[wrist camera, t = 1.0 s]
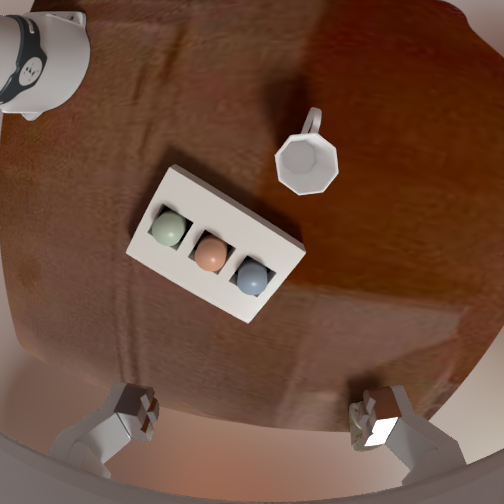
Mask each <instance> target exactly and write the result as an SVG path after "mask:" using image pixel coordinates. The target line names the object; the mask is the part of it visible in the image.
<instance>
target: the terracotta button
mask: <svg viewBox="0 0 504 504" xmlns="http://www.w3.org/2000/svg"><path fill="white" fill-rule="evenodd" d="M226 255H227V244H226V242H225V241H223V240H222V239H220V238H218V237H217V236H215V235H208V236H205V237H204V238H203V239H202V240H201V241H200V243H199V245H198V247H197V250H196V252H195V261H196V263H197V265H198V266H199V267H200V268H201V269H203V270H205V271H210V272H212V271H217V270H219V269H220V268H221V267H222V266H223V265H224V263H225V259H226Z"/></svg>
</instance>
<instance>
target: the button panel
mask: <svg viewBox="0 0 504 504" xmlns="http://www.w3.org/2000/svg"><path fill="white" fill-rule="evenodd" d="M165 205H166V206H168V207H169V208H171V209H172V210H174V211H176V212H177V213H179V214H181V215H182V216H184V217H186V218H187V219H189V220H191V221H192V222H194V223H193V225H192V226H191V228H190V230H189V231H188V233H187V235H186V236H185V238H184V240H183V241H182V242H180V241H179V242H178V243H176V244H175V245H173V246H164V245H161V244H159V243H158V242H157V241H156V240H155V239H154V237H153V234H152V226H153V224H154V222H155V221H156V220H157V219H158V217H159V215H160V213H161V211H162V209H163V207H164V206H165ZM204 230H207V231H209V232H210V233H212V234H214V235H215V236H217V237H218V238H220V239H222V240H223V241H225V242H227V243H228V244H230V245H232V246H233V247H232V249H231V250H230V252H229V253H228V255H227V256H226V259H225V263H224V265H223V266H222V267H221V268H220V269H219V270H217V271H212V272H210V271H205V270H203V269H201V268H200V267H199V266H198V265H197V263H196V261H195V252H196V251H195V250H194V249H193V248H194V246H195V245H196V243H197V241H198V240H199V238H200V236H201V235H202V233H203V232H204ZM126 253H127V254H128V255H130V256H131V257H133V258H135V259H136V260H138V261H139V262H141V263H143V264H144V265H146V266H148V267H149V268H151V269H153V270H154V271H156V272H158V273H159V274H161V275H163V276H164V277H166V278H168V279H169V280H171V281H173V282H175V283H176V284H178V285H180V286H181V287H183V288H185V289H187V290H188V291H190V292H192V293H194V294H195V295H197V296H199V297H201V298H202V299H204V300H206V301H208V302H210V303H211V304H213V305H215V306H217V307H219V308H220V309H222V310H224V311H226V312H228V313H230V314H232V315H233V316H235V317H237V318H239V319H241V320H243V321H245V322H247V323H249V322H250V321H251V320H252V319H253V317H254V316H255V315H256V314H257V313H258V311H259V310H260V309H261V308H262V307H263V305H264V304H265V303H266V302H267V301H268V299H269V298H270V297H271V296H272V295H273V293H274V292H275V291H276V290H277V288H278V287H279V286H280V285H281V284H282V282H283V281H284V280H285V279H286V277H287V276H288V275H289V274H290V272H291V271H292V270H293V269H294V267H295V266H296V265H297V264H298V262H299V261H300V260H301V259H302V257H303V256H304V255H305V254H306V251H305V248H304V245H303V244H302V243H301V242H299V241H298V240H296V239H295V238H293V237H292V236H290V235H288V234H287V233H285V232H284V231H282V230H281V229H279V228H278V227H276V226H275V225H273V224H271V223H270V222H268V221H267V220H265V219H264V218H262V217H261V216H259V215H257V214H256V213H254V212H253V211H251V210H250V209H248V208H246V207H245V206H243V205H242V204H240V203H238V202H237V201H235V200H234V199H232V198H231V197H229V196H227V195H226V194H224V193H222V192H221V191H219V190H218V189H216V188H214V187H213V186H211V185H210V184H208V183H206V182H205V181H203V180H201V179H200V178H198V177H196V176H195V175H193V174H192V173H190V172H188V171H187V170H185V169H183V168H182V167H180V166H178V165H177V164H175V165H173V166H171V167H169V169H168V171H167V173H166V174H165V176H164V178H163V180H162V182H161V183H160V185H159V187H158V189H157V191H156V193H155V195H154V196H153V198H152V200H151V202H150V204H149V206H148V208H147V210H146V212H145V214H144V216H143V218H142V220H141V222H140V224H139V226H138V228H137V230H136V232H135V234H134V236H133V238H132V241H131V243H130V245H129V247H128V249H127V251H126ZM247 255H248V256H250V257H251V258H253V259H255V260H256V261H258V262H260V263H261V264H263V265H265V266H266V267H268V268H270V269H271V270H270V271H269V273H268V274H267V287H266V289H265V290H264V291H263V292H262V293H260V294H258V295H247V294H245V293H243V292H242V291H241V290H240V289H239V288H238V285H237V279H238V275H236V274H234V273H235V271H236V270H237V268H238V267H239V266H240V264H241V263H242V262H243V260H244V259H245V257H246V256H247Z"/></svg>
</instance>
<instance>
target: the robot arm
mask: <svg viewBox="0 0 504 504" xmlns="http://www.w3.org/2000/svg"><path fill="white" fill-rule="evenodd" d="M73 17H74V18H73ZM72 18H73V20H72ZM85 26H86V15H85V14H84V13H82V12H62V11H57V12H29V13H25V14H24V15H23V16H20V15H6V16H2V15H0V108H1V109H2V112H4V113H21V114H22V115H23V116H24V117H25V119H27V120H31V121H32V120H35V119H36V118H37V117H38V116H40V115H41V114H42V113H43V112H44V111H46V110H50V109H53V108H56V107H58V106H59V105H61V104H63V103H64V102H65V101H66V100H68V99H69V98H70V97H71V96H72V95H73V93H74V92H75V91H76V89H77V88H78V87H79V85H80V83H81V81H82V80H83V78H84V75H85V73H86V70H87V67H88V63H89V58H90V44H89V40H88V37H87V34H86V31H85ZM154 393H155V392H154V390H153V388H152V387H147V386H141V385H135V384H130V383H124V382H119V381H117V382H116V383H115V384H114V386H113V388H112V390H111V392H110V394H109V396H108V398H107V400H106V402H105V404H104V406H103V408H102V410H101V409H98V410H96V411H95V412H93V413H91V414H90V415H88V416H86V417H85V418H83V419H82V420H80V421H78V422H77V423H75V424H73V425H72V426H70V427H69V428H67V429H65V430H63V431H62V432H60V433H59V434H58V435H57V437H56V439H55V441H54V443H53V445H52V447H51V449H50V450H49V452H48V454H47V455H45V454H43V453H41V452H39V451H36V450H34V449H32V448H30V447H28V446H26V445H24V444H22V443H20V442H18V441H17V440H15V439H13V438H11V437H9V436H7V435H6V434H4V433H2V432H1V431H0V504H504V449H502V450H500V451H497V452H496V453H493V454H491V455H489V456H487V457H485V458H482V459H480V460H478V461H475V462H473V463H471V464H468V465H467V464H466V462H465V459H464V457H463V454H462V452H461V449H460V447H459V444H458V442H457V441H456V440H454V439H453V438H452V437H450V436H448V435H447V434H446V433H444V432H443V431H441V430H440V429H438V428H437V427H436V426H434V425H433V424H431V423H430V422H429V421H427V420H426V419H424V418H423V417H422V416H420V415H419V414H414V411H413V409H412V406H411V404H410V402H409V399H408V397H407V394H406V392H405V390H404V387H403V386H402V385H396V386H387V387H380V388H373V389H366V390H365V391H364V394H363V398H364V400H363V401H362V402H361V403H360V405H359V410H358V417H359V423H360V425H361V426H363V427H364V429H363V431H362V436H363V440H364V444H365V446H369V445H376V444H383V443H385V445H386V446H387V447H388V448H389V449H390V450H391V451H392V452H393V453H394V454H395V455H396V456H397V457H398V458H399V459H400V460H401V461H402V462H403V463H404V464H405V465H406V466H407V467H408V468H409V469H410V470H411V471H410V472H409V473H408V474H407V475H406V477H405V478H404V479H403V480H402V485H403V486H400V487H396V488H392V489H387V490H382V491H378V492H372V493H367V494H361V495H355V496H349V497H341V498H334V499H324V500H313V501H296V502H243V501H226V500H215V499H206V498H198V497H190V496H183V495H177V494H171V493H166V492H161V491H156V490H151V489H147V488H142V487H138V486H134V485H130V484H126V483H123V482H119V481H116V480H112V479H110V476H111V473H110V472H109V471H108V469H107V468H106V467H105V466H104V465H103V464H104V463H105V462H106V461H107V460H108V459H110V458H111V457H112V456H113V455H114V454H115V453H116V452H118V451H119V450H120V449H121V448H122V447H123V446H125V445H126V444H127V443H128V442H129V441H130V440H131V439H136V440H141V441H147V442H150V441H151V438H152V435H153V432H154V428H153V426H152V424H154V423H155V422H156V421H157V419H158V416H159V403H158V401H157V399H156V398H154V397H153V396H154Z"/></svg>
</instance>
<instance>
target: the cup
mask: <svg viewBox="0 0 504 504" xmlns="http://www.w3.org/2000/svg"><path fill="white" fill-rule="evenodd" d="M312 121H313V123H312ZM320 122H321V110H320V109H318V108H314V107H312V108H311V109H310V111H309V113H308V115H307V118H306V121H305V123H304V126H303V129H302V132H301V134H297V135H290V137H289V138H288V139H287V140H286V142H285V143H284V144H283V146H282V147H281V148H280V150H279V151H278V152H277V154H276V155H275V159H276V166H277V172H278V179H279V181H280V182H282V183H283V184H284V185H286V186H287V187H288V188H290V189H291V190H292V191H294V192H295V193H297V194H298V195H304V194H312V193H319V192H324V190H325V189H326V188H327V187H328V185H329V184H330V183H331V182H332V180H333V179H334V178H335V177H336V175H337V174H338V164H337V155H336V148H335V147H334V146H332V145H331V144H330V143H329V142H327V141H326V140H325V139H324V138H322V137H321V136H320V135H319V134H318V131H319V126H320ZM311 123H312V126H311ZM310 126H311V130H310V133H308V131H309V128H310Z"/></svg>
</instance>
